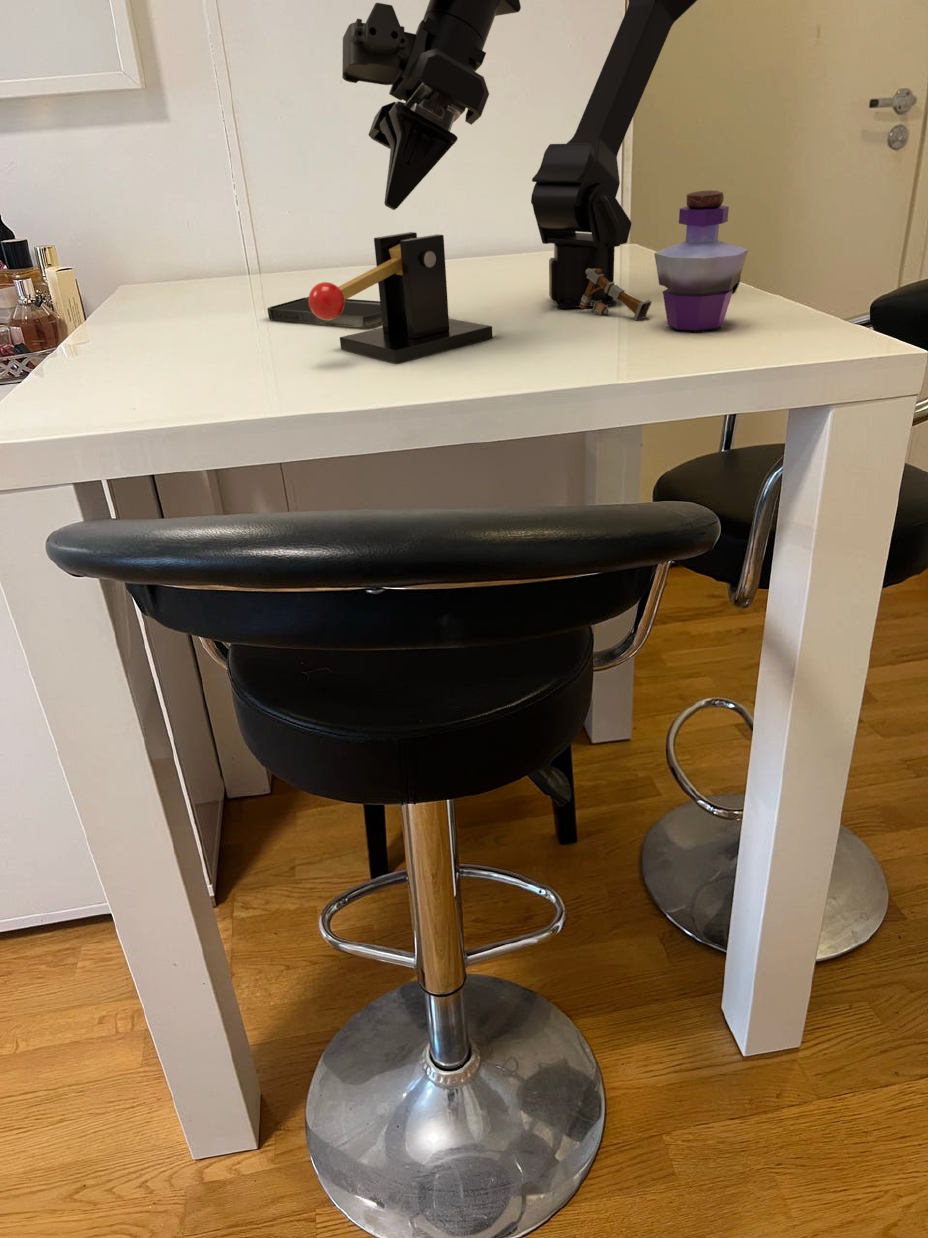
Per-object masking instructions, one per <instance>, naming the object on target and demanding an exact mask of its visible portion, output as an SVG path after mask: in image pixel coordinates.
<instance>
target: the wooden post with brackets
mask: <svg viewBox="0 0 928 1238" xmlns="http://www.w3.org/2000/svg"><path fill="white" fill-rule="evenodd" d="M601 272H602V270H601V269H599V268H598V269H596V268H594V269H590V268H588V269H587V270H586V274H587V278H588V279H590V282H589V285H588V287H587V289H586V292H585V294H584V295H583V296H582V299H581V304H580V305H579V307H578V308H581V309H582V310H583V309H586V308H587V305H588V302H590V304H591V305H590V306H589V307H592V310H591V311H592V312H596V313H598V314H599V316H603V315H605V316H607V315H608V314H609V313H610V310H609V309H608V308H609V305H604V304H603V303H601V301H602V300H599V301H596V302H595V300H594V301H593V300H590V299H591V297H592V296H591V295H592V294H593V292H595V291H597V290H599V289H601V288H603V289H604V290H605V291H604V292H606V293H609V294H608V295H610V296H612V297H613V298H614V299H615V300H616V301H619V302H620V303H622V304H623V305H624V306H625V307H626V308H628V310H630V311H631V312H632V313H633V314H634V315H633V319H634V320H635V321H638V320H640V319H644V318H646V316H647V313H648V311H649V309H650V307H651V304H652V302H653V301H651V300H649V299H648V300H645V301H642V300H640V299H638V298H636V297H634V296H632V295H630V294H628V293H627V292H625V289H623V288H621V287H620V286H619V285H618V284H615V282H610V281H608V280H607V279H606V278H604V277H603V276H604V275H603V274H601ZM596 284H598V285H600V287H598V288H596V289H594V287H595V285H596ZM592 305H593V306H592Z"/></svg>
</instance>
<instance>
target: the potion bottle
mask: <svg viewBox="0 0 928 1238" xmlns="http://www.w3.org/2000/svg"><path fill="white" fill-rule="evenodd" d="M724 199H725V197H724V192H723V191H720V190H712V189H710V190H699V191H693V192H689V193H687V194H686V206H684V207H681V208H679V213H678V224H680V225H684V226H686V232H685V241H682V242H678V243H676V244H674V245H671V246H667V247H665V248H662V249H660V250H658V251H656V252H654V259H655V267H656V271H657V272H656V274H657V279H658V285H659V286H662V287H664V288H666V289H664V290H662V296H663V302H664V308H665V315H666V322H667V326H666V328H667V329H669V330H671V331H674V332H679V333H692V334H693V333H695V334H700V333H709V332H717V331H720V330H721V329H722V328H724V327H725V326H726V325H725V324H724V322H725V318H726V315H727V312H728V308H729V304H730V302H731V298H732V296H733V295H734V294H736V293H737V291H738V288H739V286H740V284H741V279H742V271H743V269H744V265H745V262H746V258H747V255H748V252H749V249H748V248H744V247H741V246H738V245H735V244H732V243H729V242H725V241H722V240H719V232H720V231H719V230H720V225H723V224H725V223H727V222H728V221H729V210H730V206H728V205H723V203H724Z"/></svg>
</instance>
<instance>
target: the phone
mask: <svg viewBox="0 0 928 1238" xmlns="http://www.w3.org/2000/svg"><path fill="white" fill-rule="evenodd" d="M266 310H267V315H268V319H269V320H271V321H282V322H283V321H284V322H293V323H294V322H295V323H304V324H305V323H306V324H316V325H318V324H319V325H327V326H339V327H351V328H371V327H375V326H377V325H380V324H381V325H382V316H381V306H380V300H367V299H353V298H348V299H346V300H345V305H344V309H343V311H342V313H341V314H340V315H339V316H338V317H337V318H335V319H333V320H322V319H320V318H318V317H317V316H315V315H314V314H313V312H312V311H311V309H310V307H309V296H306V297H301V298H298V299H293V300H290V301H287V302H283V303H280V304H279V303H278V304H276V305H272V306H269V307H267V308H266Z"/></svg>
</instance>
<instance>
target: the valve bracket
mask: <svg viewBox="0 0 928 1238" xmlns="http://www.w3.org/2000/svg"><path fill="white" fill-rule="evenodd" d="M417 233H418V232H416V231H415V232H413V231H408V232H402V233H397V234H389V235H382V236H377V237H374V238H373V244H374V245H373V246H374V255H375V265H376V267H377V266H379V265H381V264H383V263H384V262H386V261H388V260H390V259H391V256H390V253H389V249H390V248H392V247H394V246H396V245H398V244H400V249H401V261H402V272H403V275H396V274H393V275H391V276H389V277H387V278H385V279H383V280H382V281H380V282H378V283H377V286H378V295H379V296H378V297H379V301H380V306H381V316H382V323H381V325H382V326H381V327H379V328H375V329H369V330H366V331H361V332H358V333H356V332H355V333H352V334H347V335H344V336H340V337H339V346H340V350H341V351H346V352H350V353H354V354H357V355H361V356H365V357H369V358H373V359H377V360H382V361H385V362H388V363H392V364H400V363H403V362H404V363H405V362H407V361H408V362H409V361H411V360H414V359H415V360H416V359H419V358H423V357H426V356H430V355H434V354H438V353H442V352H446V351H449V350H453V349H458V348H461V347H465V346H469V345H473V344H477V343H481V342H484V341H489V340H492V339H493V338H494V337H493V336H494V335H493V326H492V325H488V324H484V323H483V324H482V323H476V322H472V321H466V320H462V319H461V320H460V319H455V318H451V317H449V303H448V302H449V301H448V286H447V285H448V284H447V270H446V269H447V267H446V253H445V238H444V235H443V234H430V235H425V236H419V237H418V234H417ZM410 238H412V239H410Z"/></svg>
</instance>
